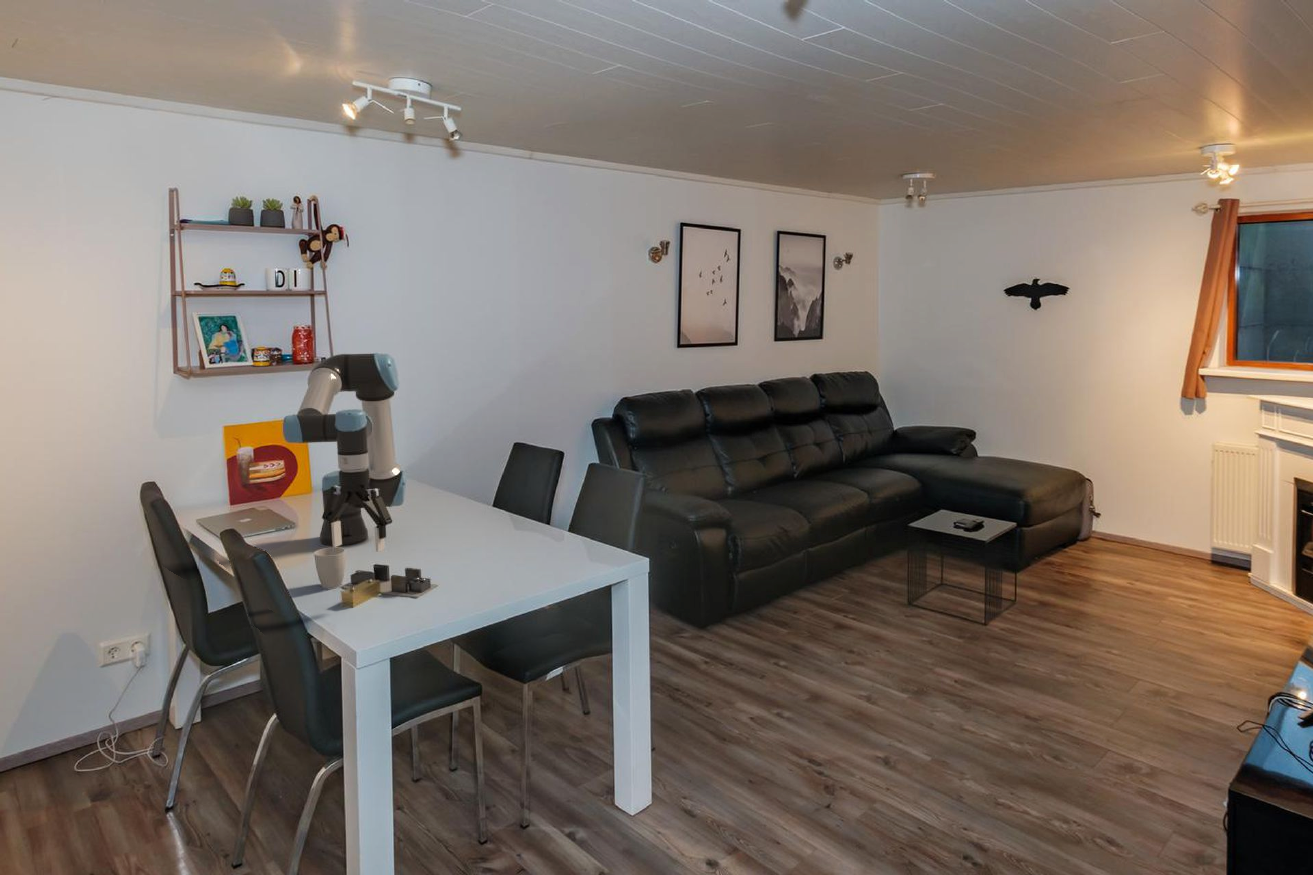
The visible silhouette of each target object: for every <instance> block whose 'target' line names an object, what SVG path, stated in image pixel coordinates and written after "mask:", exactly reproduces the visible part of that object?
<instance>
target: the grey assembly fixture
mask: <svg viewBox="0 0 1313 875" xmlns="http://www.w3.org/2000/svg"><path fill="white" fill-rule="evenodd" d="M368 579H373V580H380V581H387V582H388V581H390V579H391V589H392V592H400V593H407V592H408V585H407V584H409V591H410V592H418V593H422V592H424V591H426V590H428V589H429V588H431V584H432V583H431V581H432V580H431V578H426V577H422V569H420V568H414V567H413V568H412V567H405V568H404V576H403V575H396V574H392V575H390V565H386V564H378V563H375V564H373V571H369V570H360V569H358V570H355V572H354V573H352V574H350V583H351V584H355V585H358V584H360V583H362V582H364V581H366V580H368Z"/></svg>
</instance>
